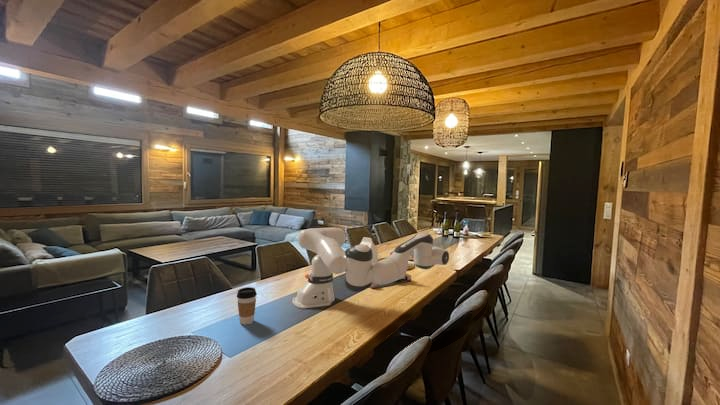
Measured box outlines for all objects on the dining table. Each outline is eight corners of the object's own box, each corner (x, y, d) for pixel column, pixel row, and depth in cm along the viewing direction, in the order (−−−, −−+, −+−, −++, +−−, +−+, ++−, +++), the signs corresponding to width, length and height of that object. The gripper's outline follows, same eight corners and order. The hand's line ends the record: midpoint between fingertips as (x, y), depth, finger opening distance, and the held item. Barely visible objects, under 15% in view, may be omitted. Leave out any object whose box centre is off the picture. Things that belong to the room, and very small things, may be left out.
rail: (372, 289, 181) (372, 282, 180) (363, 284, 189) (363, 277, 189) (410, 281, 196) (411, 275, 196) (401, 277, 205) (401, 271, 204)
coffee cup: (235, 327, 131) (235, 293, 130) (238, 318, 139) (237, 286, 138) (256, 325, 133) (256, 292, 132) (257, 316, 141) (257, 285, 140)
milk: (378, 274, 208) (379, 237, 207) (369, 279, 199) (370, 240, 197) (363, 271, 215) (364, 235, 213) (354, 275, 205) (355, 237, 203)
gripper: (410, 259, 164) (394, 253, 176) (437, 255, 174) (420, 250, 186) (410, 247, 163) (394, 242, 175) (437, 244, 174) (421, 240, 186)
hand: (408, 246), depth 181 cm, fingers open, 8 cm apart
